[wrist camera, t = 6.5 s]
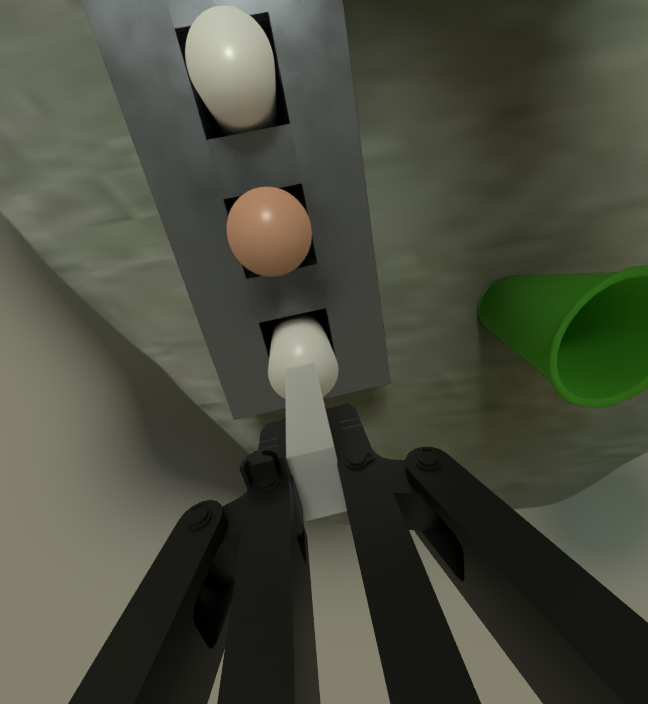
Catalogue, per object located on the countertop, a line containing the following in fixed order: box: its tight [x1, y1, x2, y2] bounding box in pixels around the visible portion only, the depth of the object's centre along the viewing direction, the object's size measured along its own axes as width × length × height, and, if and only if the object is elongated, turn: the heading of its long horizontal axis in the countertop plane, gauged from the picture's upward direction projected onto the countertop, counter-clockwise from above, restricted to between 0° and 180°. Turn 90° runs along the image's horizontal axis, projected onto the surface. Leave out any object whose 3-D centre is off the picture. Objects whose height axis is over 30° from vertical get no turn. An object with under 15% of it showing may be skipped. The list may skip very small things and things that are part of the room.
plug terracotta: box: [227, 187, 312, 277], centre depth 18 cm, size 4×4×7 cm
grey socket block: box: [82, 0, 391, 420], centre depth 21 cm, size 24×12×6 cm, turn 11°
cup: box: [478, 265, 648, 408], centre depth 24 cm, size 9×9×11 cm
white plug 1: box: [185, 5, 277, 136], centre depth 18 cm, size 4×4×7 cm
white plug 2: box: [268, 312, 338, 399], centre depth 21 cm, size 4×4×7 cm
